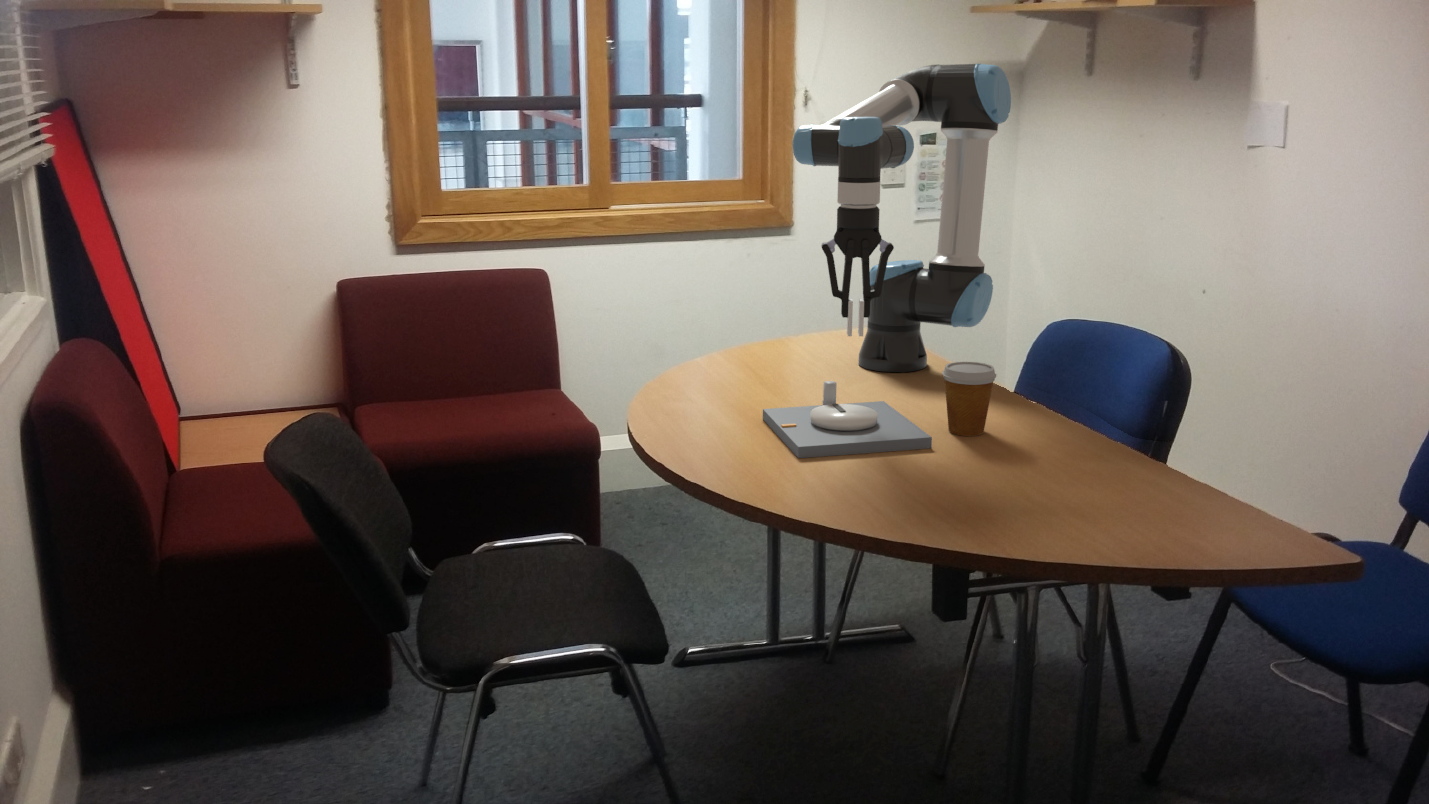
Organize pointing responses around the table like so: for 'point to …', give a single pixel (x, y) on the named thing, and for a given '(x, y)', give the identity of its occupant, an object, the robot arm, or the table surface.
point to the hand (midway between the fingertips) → (854, 334)
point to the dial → (841, 413)
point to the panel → (845, 432)
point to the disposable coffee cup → (968, 396)
